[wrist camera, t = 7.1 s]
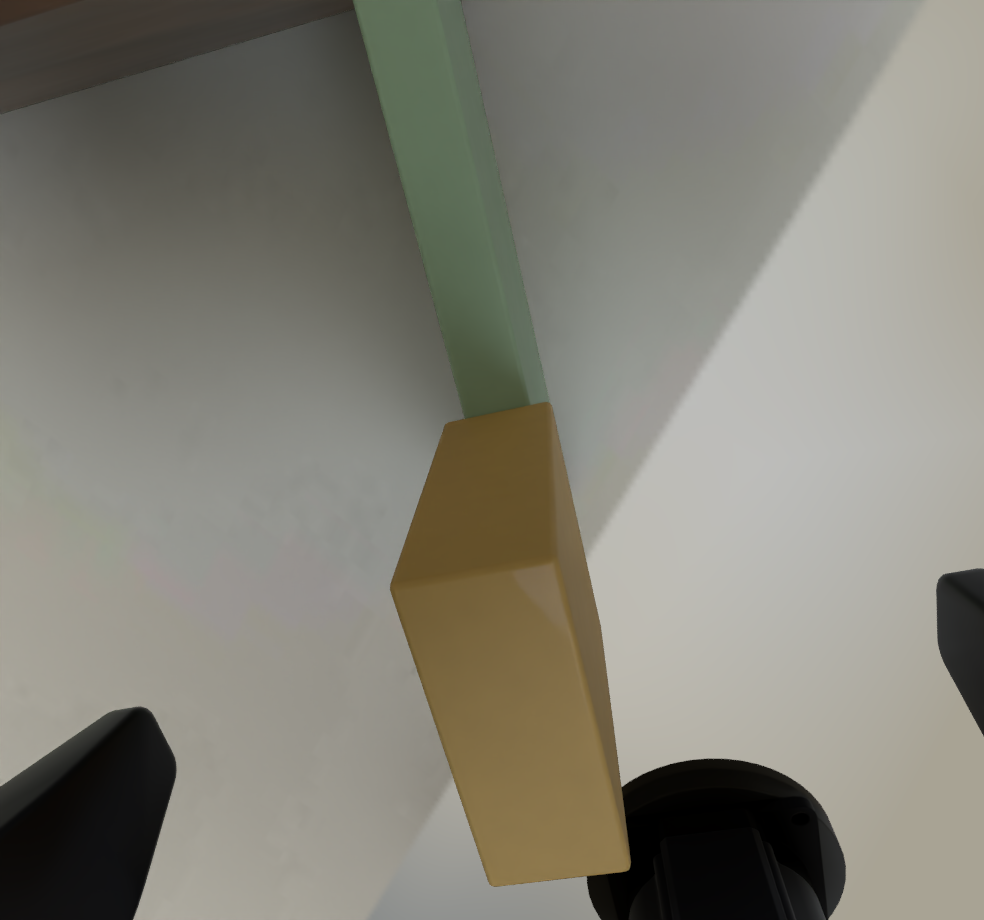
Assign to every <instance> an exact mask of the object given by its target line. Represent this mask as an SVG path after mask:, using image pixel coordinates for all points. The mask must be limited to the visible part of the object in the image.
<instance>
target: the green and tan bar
mask: <svg viewBox="0 0 984 920" xmlns="http://www.w3.org/2000/svg"><path fill="white" fill-rule="evenodd" d="M353 4H354V7H355V11H356V15H357V19H358V22H359V26H360V30H361V34H362V37H363V41H364V45H365V48H366V52H367V56H368V60H369V63H370V67H371V71H372V75H373V78H374V82H375V86H376V90H377V93H378V97H379V101H380V104H381V108H382V112H383V116H384V119H385V123H386V127H387V131H388V134H389V138H390V142H391V145H392V149H393V153H394V157H395V160H396V164H397V168H398V172H399V175H400V179H401V183H402V186H403V190H404V194H405V198H406V201H407V205H408V209H409V213H410V216H411V220H412V224H413V228H414V231H415V235H416V239H417V242H418V246H419V250H420V254H421V257H422V261H423V265H424V269H425V272H426V276H427V280H428V283H429V287H430V291H431V295H432V298H433V302H434V306H435V310H436V313H437V317H438V321H439V325H440V328H441V332H442V336H443V339H444V343H445V347H446V351H447V354H448V358H449V362H450V366H451V369H452V373H453V377H454V380H455V384H456V388H457V392H458V395H459V399H460V403H461V407H462V410H463V414H464V418H465V419H462V420H457V421H452V422H448V423H447V424H445V426H444V429H443V432H442V435H441V438H440V441H439V444H438V447H437V449H436V452H435V455H434V458H433V461H432V464H431V467H430V470H429V473H428V476H427V479H426V482H425V485H424V488H423V490H422V493H421V496H420V499H419V502H418V505H417V508H416V511H415V514H414V517H413V520H412V523H411V526H410V529H409V531H408V534H407V537H406V540H405V543H404V546H403V549H402V552H401V555H400V558H399V561H398V564H397V567H396V569H395V572H394V575H393V578H392V581H391V584H390V591H391V594H392V597H393V600H394V603H395V606H396V609H397V612H398V615H399V618H400V621H401V624H402V627H403V630H404V633H405V636H406V639H407V642H408V645H409V648H410V651H411V654H412V657H413V659H414V662H415V665H416V668H417V671H418V674H419V677H420V680H421V683H422V686H423V689H424V692H425V695H426V698H427V701H428V704H429V707H430V710H431V713H432V716H433V719H434V722H435V725H436V728H437V731H438V734H439V737H440V740H441V743H442V746H443V749H444V751H445V754H446V757H447V760H448V763H449V766H450V769H451V772H452V775H453V778H454V781H455V784H456V787H457V790H458V793H459V796H460V799H461V802H462V805H463V807H464V811H465V814H466V817H467V820H468V823H469V826H470V829H471V832H472V835H473V837H474V840H475V843H476V846H477V849H478V852H479V855H480V858H481V861H482V864H483V867H484V870H485V873H486V876H487V879H488V882H489V884H490V885H491V886H494V887H497V886H506V885H515V884H523V883H532V882H541V881H549V880H558V879H566V878H575V877H583V876H592V875H600V874H609V873H617V872H626V871H628V870H629V868H630V865H631V859H630V851H629V844H628V836H627V828H626V820H625V812H624V804H623V797H622V789H621V782H620V773H619V765H618V757H617V750H616V743H615V735H614V726H613V718H612V711H611V703H610V695H609V687H608V679H607V673H606V672H607V671H606V663H605V656H604V648H603V640H602V632H601V625H600V621H599V616H598V612H597V607H596V603H595V599H594V594H593V589H592V585H591V580H590V576H589V571H588V567H587V562H586V558H585V553H584V548H583V544H582V539H581V535H580V530H579V526H578V521H577V517H576V512H575V508H574V503H573V499H572V494H571V490H570V485H569V481H568V476H567V472H566V467H565V463H564V458H563V454H562V449H561V445H560V440H559V435H558V431H557V426H556V422H555V417H554V413H553V408H552V405H551V404H550V402H549V397H548V393H547V388H546V384H545V379H544V375H543V370H542V366H541V361H540V357H539V352H538V348H537V343H536V339H535V334H534V330H533V325H532V321H531V316H530V312H529V307H528V303H527V298H526V294H525V289H524V285H523V280H522V276H521V271H520V267H519V262H518V258H517V253H516V249H515V244H514V240H513V235H512V231H511V226H510V222H509V217H508V213H507V208H506V204H505V199H504V195H503V190H502V186H501V181H500V177H499V172H498V168H497V163H496V159H495V154H494V150H493V145H492V141H491V136H490V132H489V127H488V123H487V118H486V114H485V109H484V105H483V100H482V96H481V91H480V87H479V82H478V78H477V73H476V69H475V64H474V60H473V55H472V51H471V46H470V41H469V37H468V32H467V28H466V23H465V19H464V14H463V10H462V5H461V1H460V0H353Z"/></svg>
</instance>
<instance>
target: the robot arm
mask: <svg viewBox="0 0 984 920" xmlns="http://www.w3.org/2000/svg"><path fill="white" fill-rule="evenodd" d="M936 594H937V634H938V646H939V650H940V654H941V657H942V659H943V662H944V664H945V666H946V668H947V669H948V671H949V673H950V675H951V677H952V679H953V680H954V682H955V684H956V686H957V688H958V690H959V691H960V693H961V695H962V697H963V699H964V701H965V702H966V704H967V706H968V708H969V710H970V712H971V713H972V715H973V717H974V719H975V721H976V723H977V725H978V727H979V728H980V730H981V732H982V734H983V735H984V569H972V570H966V571H960V572H954V573H948V574H944V575H942V576H941V577H940V578H939V580H938V583H937V589H936ZM175 778H176V761H175V757H174V754H173V752H172V750H171V748H170V746H169V745H168V743H167V741H166V739H165V737H164V735H163V733H162V731H161V729H160V727H159V725H158V723H157V721H156V719H155V717H154V716H153V714H152V712H150V711H149V710H148V709H147V708H144V707H133V708H127V709H121V710H115V711H112V712H109V713H108V714H106V715H104V716H103V717H101V718H100V719H98V720H97V721H96V722H94V723H93V724H91V725H90V726H88V727H87V728H85V729H84V730H82V731H81V732H79V733H78V734H77V735H75V736H74V737H72V738H71V739H69V740H68V741H66V742H65V743H63V744H62V745H61V746H59V747H58V748H56V749H55V750H53V751H52V752H50V753H49V754H47V755H46V756H44V757H43V758H42V759H40V760H39V761H37V762H36V763H34V764H33V765H31V766H30V767H28V768H27V769H25V770H24V771H23V772H21V773H20V774H18V775H17V776H15V777H14V778H12V779H11V780H9V781H8V782H7V783H5V784H4V785H2V786H1V787H0V920H133V919H134V916H135V913H136V910H137V908H138V905H139V902H140V899H141V895H142V892H143V889H144V886H145V883H146V879H147V876H148V872H149V869H150V865H151V862H152V858H153V855H154V852H155V848H156V845H157V841H158V838H159V834H160V831H161V827H162V824H163V820H164V817H165V814H166V810H167V807H168V803H169V800H170V796H171V793H172V789H173V786H174V782H175ZM798 813H801V814H798ZM795 814H798V815H795ZM625 820H626V828H627V836H628V844H629V851H630V859H631V865H630V868H629V870H628V871H626V872H617V873H609V874H607V878H608V882H609V886H610V890H611V894H612V898H613V902H614V905H615V909H616V913H617V917H618V920H828V910H827V900H826V891H825V882H824V872H823V863H822V854H821V844H820V835H819V825H818V817H817V814H816V812H815V810H814V807H813V805H812V802H811V801H810V800H809V799H807V798H805V797H802V796H791V797H783V798H776V799H768V800H760V801H752V802H744V803H736V804H729V805H721V806H713V807H705V808H697V809H689V810H682V811H674V812H666V813H658V814H650V815H642V816H634V817H627V818H625Z"/></svg>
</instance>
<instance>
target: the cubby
mask: <svg viewBox="0 0 984 920" xmlns="http://www.w3.org/2000/svg"><path fill="white" fill-rule="evenodd" d="M352 9H355V7H354V4H353V0H0V114H2V113H5V112H9V111H12V110H15V109H19V108H22V107H26V106H29V105H32V104H36V103H39V102H42V101H46V100H49V99H53V98H56V97H59V96H63V95H66V94H69V93H73V92H76V91H79V90H83V89H86V88H90V87H93V86H96V85H100V84H103V83H106V82H110V81H113V80H116V79H120V78H123V77H127V76H130V75H133V74H137V73H140V72H143V71H147V70H150V69H154V68H157V67H160V66H164V65H167V64H170V63H174V62H177V61H180V60H184V59H187V58H191V57H194V56H197V55H201V54H204V53H207V52H211V51H214V50H217V49H221V48H224V47H228V46H231V45H234V44H238V43H241V42H244V41H248V40H251V39H255V38H258V37H261V36H265V35H268V34H271V33H275V32H278V31H281V30H285V29H288V28H292V27H295V26H298V25H302V24H305V23H308V22H312V21H315V20H318V19H322V18H325V17H329V16H332V15H335V14H339V13H342V12H345V11H349V10H352Z"/></svg>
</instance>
